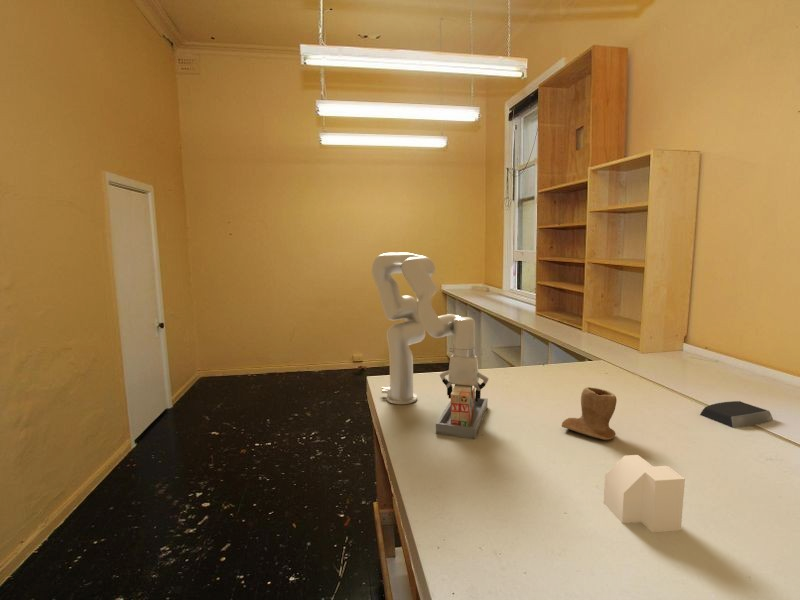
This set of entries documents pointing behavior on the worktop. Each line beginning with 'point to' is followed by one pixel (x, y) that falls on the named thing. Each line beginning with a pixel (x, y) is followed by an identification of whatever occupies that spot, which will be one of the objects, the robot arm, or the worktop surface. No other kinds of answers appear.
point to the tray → (462, 431)
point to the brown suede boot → (594, 414)
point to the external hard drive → (736, 414)
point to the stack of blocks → (462, 405)
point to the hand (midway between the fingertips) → (463, 398)
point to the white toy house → (645, 494)
